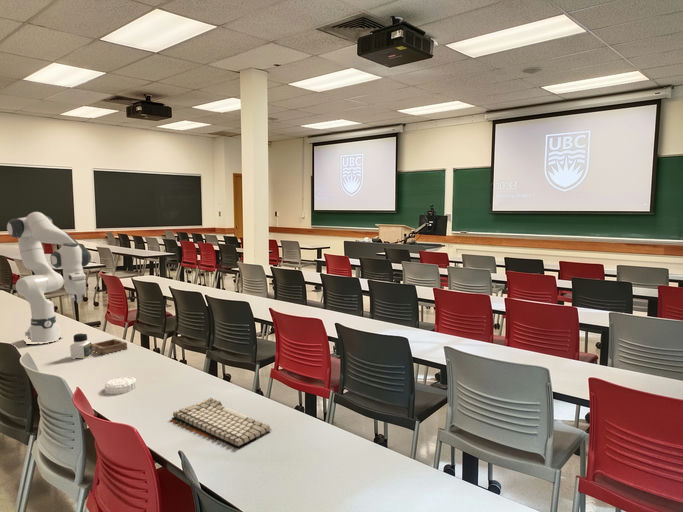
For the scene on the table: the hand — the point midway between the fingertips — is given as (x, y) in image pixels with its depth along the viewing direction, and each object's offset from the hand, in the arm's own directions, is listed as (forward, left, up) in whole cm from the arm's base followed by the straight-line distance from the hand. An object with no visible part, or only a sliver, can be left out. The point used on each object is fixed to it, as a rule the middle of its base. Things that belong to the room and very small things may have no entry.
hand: (76, 302), depth 240 cm
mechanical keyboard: (+120, -4, -29) cm, 124 cm away
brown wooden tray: (+1, +14, -29) cm, 32 cm away
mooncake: (+59, -9, -29) cm, 67 cm away
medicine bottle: (+1, 0, -29) cm, 29 cm away
